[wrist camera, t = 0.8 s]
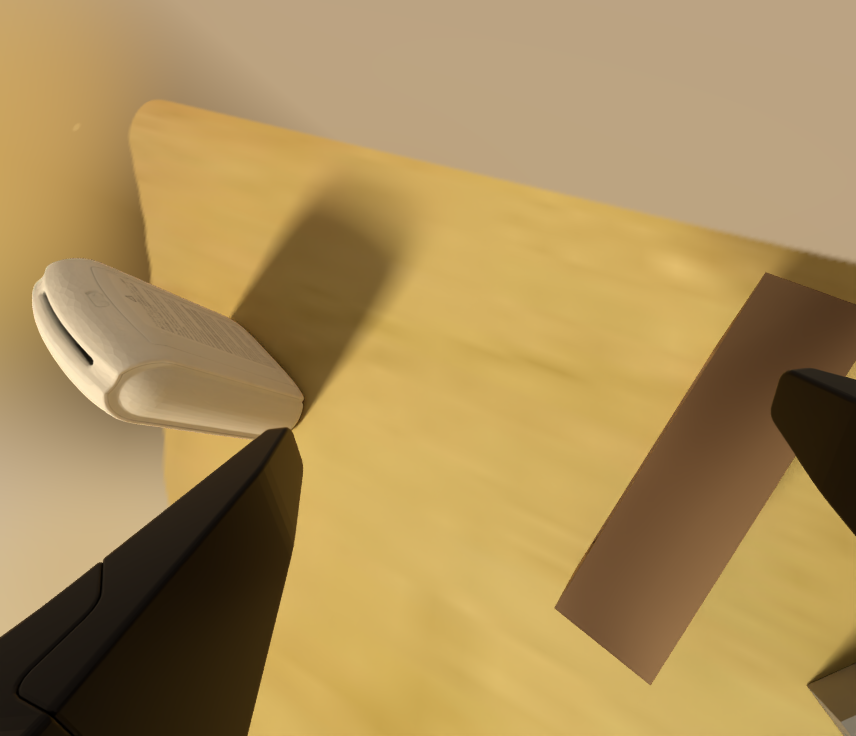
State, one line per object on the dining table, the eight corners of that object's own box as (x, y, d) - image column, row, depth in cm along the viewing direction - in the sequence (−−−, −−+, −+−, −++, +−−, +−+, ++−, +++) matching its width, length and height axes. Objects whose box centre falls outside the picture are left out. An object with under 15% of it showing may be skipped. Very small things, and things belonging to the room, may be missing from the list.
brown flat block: (788, 377, 20) (884, 314, 13) (639, 613, 20) (650, 685, 13) (716, 345, 21) (765, 272, 14) (577, 566, 21) (554, 608, 14)
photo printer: (199, 359, 33) (-10, 295, 22) (235, 312, 33) (41, 224, 22) (276, 453, 29) (62, 432, 18) (318, 400, 29) (127, 345, 18)
